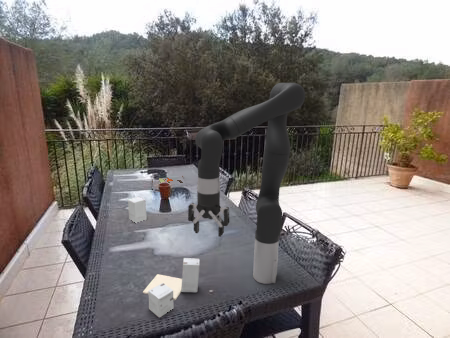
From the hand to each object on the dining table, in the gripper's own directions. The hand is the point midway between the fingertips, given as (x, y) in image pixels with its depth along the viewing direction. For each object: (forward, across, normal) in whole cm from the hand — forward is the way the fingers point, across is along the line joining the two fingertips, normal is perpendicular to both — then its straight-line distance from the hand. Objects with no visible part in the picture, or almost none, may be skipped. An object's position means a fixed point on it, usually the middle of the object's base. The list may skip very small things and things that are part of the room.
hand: (208, 234), depth 99 cm
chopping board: (+25, +75, -118) cm, 142 cm away
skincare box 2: (+24, +8, 0) cm, 25 cm away
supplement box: (+24, +59, -47) cm, 79 cm away
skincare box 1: (+24, +13, +12) cm, 30 cm away
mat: (+24, +16, +1) cm, 29 cm away
